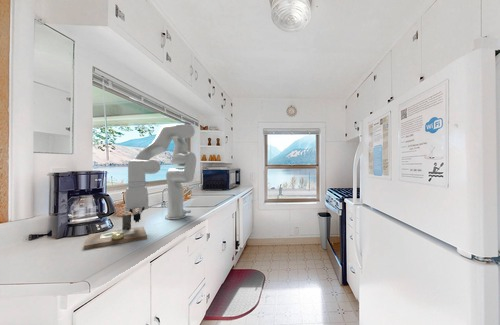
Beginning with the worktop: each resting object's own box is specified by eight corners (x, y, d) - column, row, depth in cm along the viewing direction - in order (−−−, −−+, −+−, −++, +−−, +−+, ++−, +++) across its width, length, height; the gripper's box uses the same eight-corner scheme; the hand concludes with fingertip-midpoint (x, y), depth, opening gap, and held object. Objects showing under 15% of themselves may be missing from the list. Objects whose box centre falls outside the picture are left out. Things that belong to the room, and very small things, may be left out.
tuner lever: (121, 239, 86) (122, 222, 86) (109, 240, 84) (110, 223, 85) (132, 228, 101) (132, 213, 101) (122, 229, 100) (122, 214, 100)
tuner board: (143, 229, 105) (143, 226, 105) (146, 238, 91) (147, 234, 91) (89, 237, 93) (89, 233, 93) (84, 249, 79) (84, 245, 80)
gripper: (152, 183, 109) (152, 217, 109) (119, 185, 101) (119, 222, 101) (154, 184, 102) (154, 221, 102) (119, 186, 94) (119, 226, 94)
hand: (137, 221), depth 101 cm, fingers closed
